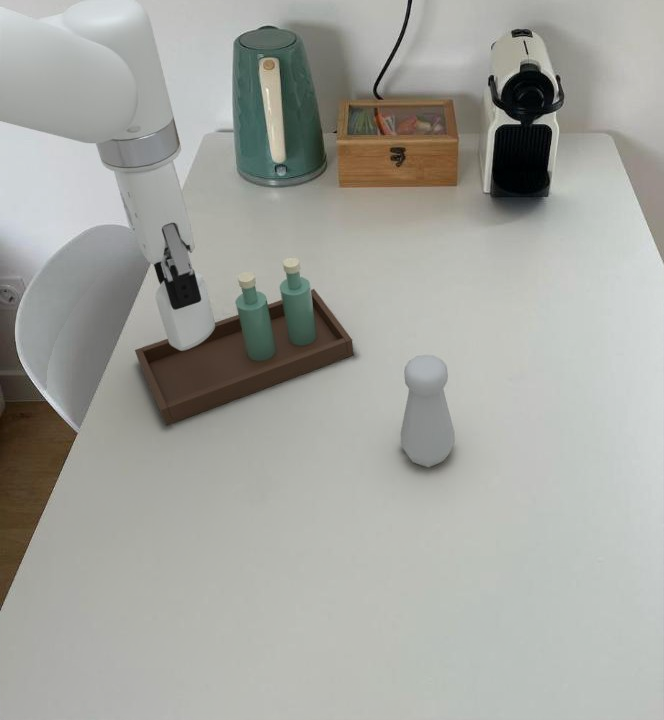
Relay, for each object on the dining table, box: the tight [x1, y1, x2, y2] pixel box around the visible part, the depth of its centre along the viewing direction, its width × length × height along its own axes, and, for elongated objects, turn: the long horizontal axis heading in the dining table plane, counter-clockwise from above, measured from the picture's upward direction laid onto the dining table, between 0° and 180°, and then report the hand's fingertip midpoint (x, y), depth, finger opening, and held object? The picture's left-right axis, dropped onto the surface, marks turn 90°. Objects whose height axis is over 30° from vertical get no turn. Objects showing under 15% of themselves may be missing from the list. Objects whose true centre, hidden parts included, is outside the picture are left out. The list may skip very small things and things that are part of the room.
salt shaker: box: [400, 354, 456, 468], centre depth 83 cm, size 6×6×13 cm
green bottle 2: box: [279, 257, 317, 346], centre depth 98 cm, size 4×4×11 cm
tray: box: [134, 288, 355, 426], centre depth 99 cm, size 24×12×3 cm, turn 118°
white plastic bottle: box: [155, 249, 216, 351], centre depth 89 cm, size 4×6×12 cm
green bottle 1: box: [235, 271, 276, 361], centre depth 96 cm, size 4×4×11 cm
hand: (180, 291), depth 89 cm, fingers closed on white plastic bottle, 4 cm apart
